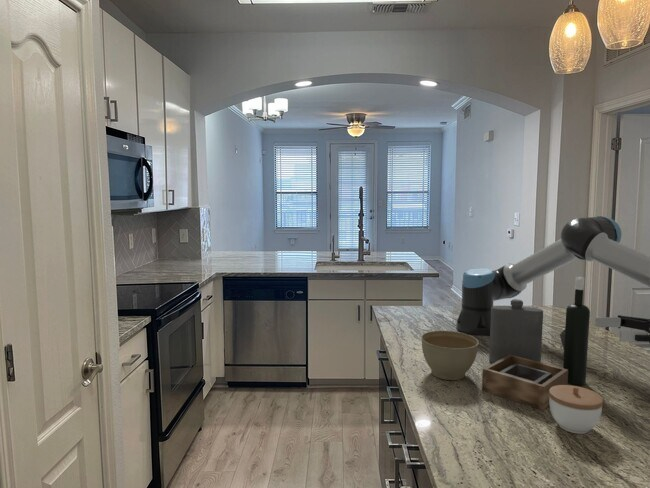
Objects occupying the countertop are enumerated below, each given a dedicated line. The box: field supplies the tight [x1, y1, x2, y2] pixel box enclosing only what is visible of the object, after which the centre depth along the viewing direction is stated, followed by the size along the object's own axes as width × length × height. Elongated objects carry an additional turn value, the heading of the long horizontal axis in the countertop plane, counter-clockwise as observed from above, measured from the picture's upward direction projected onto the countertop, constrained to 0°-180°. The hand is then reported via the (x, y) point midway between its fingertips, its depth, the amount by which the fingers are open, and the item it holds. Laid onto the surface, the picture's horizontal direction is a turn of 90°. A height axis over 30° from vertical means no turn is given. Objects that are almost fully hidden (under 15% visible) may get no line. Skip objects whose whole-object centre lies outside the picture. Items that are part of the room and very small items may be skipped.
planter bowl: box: [420, 330, 479, 381], centre depth 133 cm, size 16×16×11 cm
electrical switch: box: [559, 329, 565, 350], centre depth 149 cm, size 9×5×9 cm, turn 141°
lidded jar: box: [549, 384, 604, 435], centre depth 103 cm, size 11×11×9 cm
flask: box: [488, 298, 544, 364], centre depth 142 cm, size 15×6×20 cm, turn 76°
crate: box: [481, 355, 568, 411], centre depth 123 cm, size 16×16×6 cm
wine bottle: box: [562, 276, 591, 387], centre depth 127 cm, size 6×6×30 cm
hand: (607, 328), depth 126 cm, fingers open, 13 cm apart
